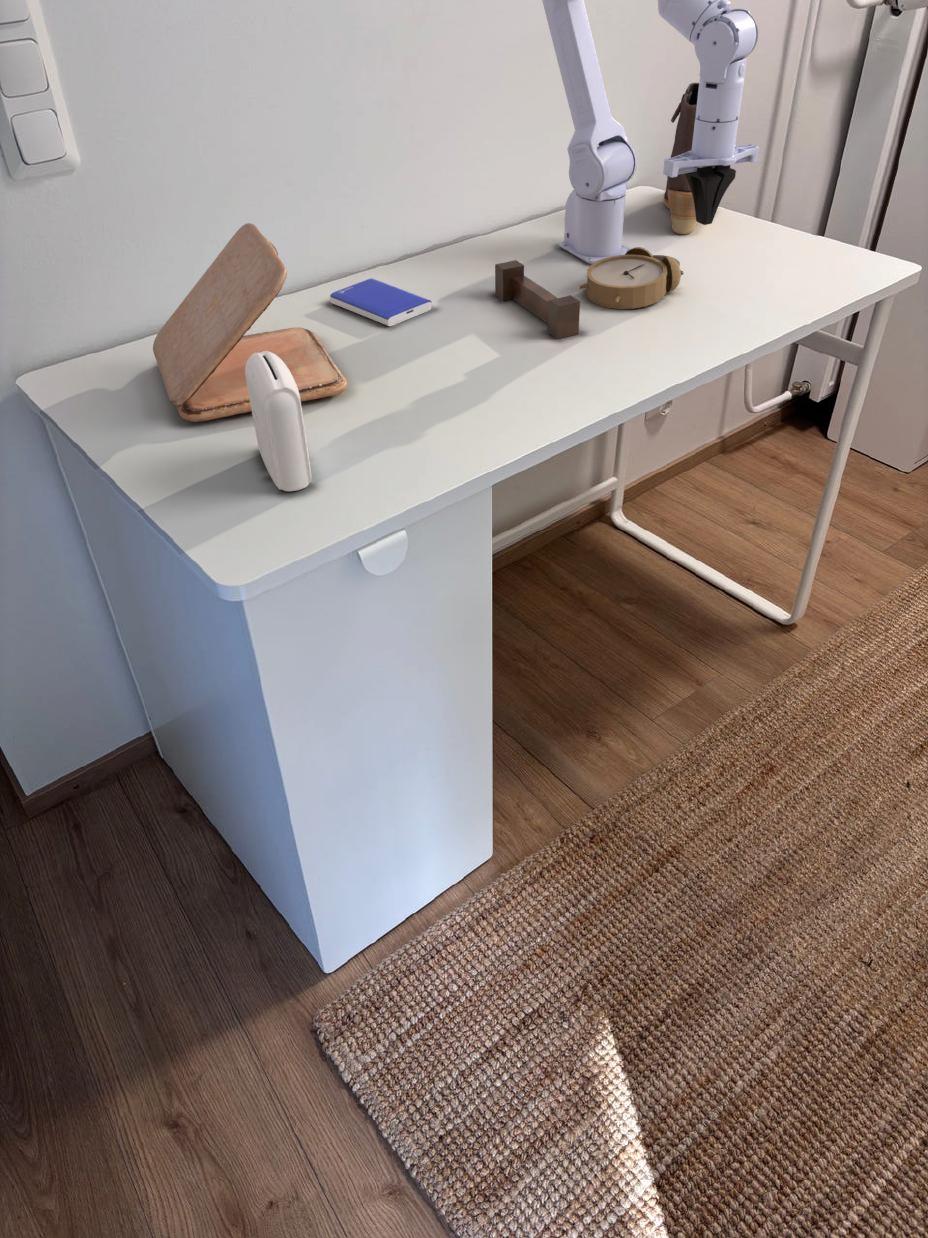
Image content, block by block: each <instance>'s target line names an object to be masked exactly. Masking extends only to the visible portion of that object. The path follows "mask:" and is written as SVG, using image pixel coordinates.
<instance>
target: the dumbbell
mask: <svg viewBox="0 0 928 1238" xmlns="http://www.w3.org/2000/svg"><path fill="white" fill-rule="evenodd" d="M494 281H495V282H494V292H495V293H494V295H495V296H496V297H497V298H498V299H499V300H501V301H502V302H503V301H508V300H513V301H514V302H515V303H518V304H519V305H520V306H522V307H523V308H524V309H526V310H528V311H529V312H530V313H532V314H533V315H534V316H536V317H538V318H539V319H540V320H542V321H543V322H544V323H546V324H547V334H548V335H550V336H552V338H554V339H556V340H559V339H563V338H567V337H572V336H576V335H579V333H580V332H579V331H580V314H581V313H580V312H581V301H580V300H579V299H578V298H576V297H574V296H573V295H572V294H569V295H565V296H560V297H557V296H556V295H555V294H553V293H552V292H550V291H549V290H547V289H545V288H544V287H543V286H541V285H539V284H538V283H537V282H535V281H533V279H530V278H529V277H527V276H526V275H525V265H524V264H523V263H521V262H519V260H517V259H515V260H510V261H505V262H500V263H494Z"/></svg>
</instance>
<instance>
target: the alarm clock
mask: <svg viewBox="0 0 928 1238" xmlns="http://www.w3.org/2000/svg"><path fill="white" fill-rule="evenodd" d="M683 275H684V271H683V270H682V269H681V262H680V261H679V259H677V258H675V257H673V256H670V255H663V254H652V252H650V251H649V250H648V249H647V248H644V247H641V246H636V247H632V248H631V249H629V251H628V252H627V253H626V254H625V255H617V256H611V257H607V258H604V259H601V260H598V261H597V262H595V263H592V264H590V265H589V267H588V268H587V269H586V283H583V284H580V285H578V287H579V290H580V289H581V290H582V289H586V296H587V298H588V299H589V300H590V301H591V302H592V303H594V304H595V305H598V306H601V307H604V308H607V309H617V310H631V309H633V310H634V309H639V308H643V307H644V308H645V307H647V306H650V305H653V304H656V303H658V302H659V301H660V300H662V299H663V298H664V297H665V295H666V294H667V293H669V292H672V291H673V292H674V291H675V290H676V289H677V288H678V286H679V285H680V282H681V277H682V276H683Z"/></svg>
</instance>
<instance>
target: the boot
mask: <svg viewBox="0 0 928 1238" xmlns="http://www.w3.org/2000/svg"><path fill="white" fill-rule="evenodd" d="M698 90H699V82H691V83H689V84H688V86H687V88H686V90H685V91H684V93H683V94H682V96H681V100H680V102H679V103H678V106H677V107H676V109H675V111H674V113H673V115H672V116H671V118H670V122H671V123H672V124H673V123H675V122H676V120H677V118H678V120H677V124H676V129H675V133H674V142H673V145H672V151H671V154H670V157H669V158H672V157H675V156H678V155H681V154H683V153H686V152H688V151H691V150H692V143H693V134H694V125H695V117H696V108H697V99H698ZM666 177H667V178H666V186H665V191H664V194H663V203H664V206H665V207H666V208H667V209H668V210H669V214H670V218H671V226H672V228H671V229H672V231H673V232H674V233H675V234H677V235H688V234H691V233H692V232H694V230H695V229H696V227H697V225H698V223H699V222H696V214H695V206H694V200H693V195H692V192H691V188H690V185H689V183H688V180H687V178H686V176H685V173H684V174H679V175H677V177H672V178H671V177H669V176H667V175H666Z"/></svg>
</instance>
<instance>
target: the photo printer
mask: <svg viewBox="0 0 928 1238" xmlns="http://www.w3.org/2000/svg"><path fill="white" fill-rule="evenodd" d="M245 377H246V382H247V387H248V393H249V398H250V404H251V409H252V411H251V415H252V419H253V425H254V426H253V427H254V431H255V436H256V442H257V446H258V450H259V453H260V456H261V459H262V461H263V464H264V466H265V468H266V471H267V472H268V474H269V476H270V478H271V480H272V482H273V483H274V485H275V487H277V489H278V490H282V491H283V492H295V491H300V490H302V489H305V488H307V487H308V486H309V484H311V483H312V479H313V478H312V477H313V476H312V469H311V467H312V466H311V461H310V455H309V449H308V441H307V435H306V429H305V422H304V421H305V420H304V415H303V408H302V402H301V400H300V394H299V390H298V388H297V385H296V383H295V380H294V378H293V376H292V374H291V372H290V371H289V369H288V367H287V366H286V365H285V363H284V362H283V361H282V360H281V359H280V358H279V357H278V356H277V355H275V354H273V353H271V352H268V351H263V352H261V353H253V354H252V355H251V356H250V357H249V359H248V360H247V363H246V366H245Z"/></svg>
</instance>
